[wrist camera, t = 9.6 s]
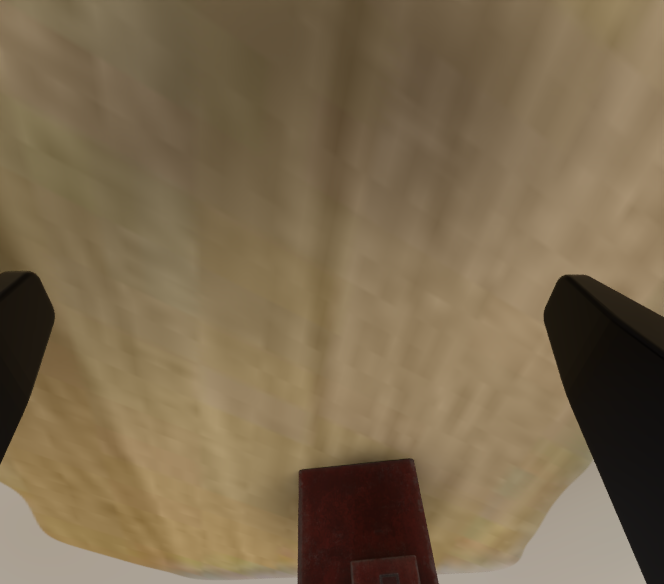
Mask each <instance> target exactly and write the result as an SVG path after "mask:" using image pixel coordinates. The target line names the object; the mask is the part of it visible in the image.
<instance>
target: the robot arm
mask: <svg viewBox="0 0 664 584" xmlns="http://www.w3.org/2000/svg"><path fill="white" fill-rule="evenodd" d="M54 319H55V313H54V308H53V306H52V304H51V302H50V299H49V297H48V295H47V293H46V291H45V289H44V287H43V284H42V282H41V280H40V278H39V277H38V276H37V275H36V274H35V273H33V272H30V271H7V272H4V273H1V274H0V464H1V462H2V459H3V457H4V455H5V453H6V450H7V448H8V446H9V444H10V442H11V439H12V437H13V435H14V433H15V431H16V428H17V426H18V424H19V422H20V420H21V417H22V415H23V413H24V410H25V408H26V406H27V403H28V401H29V398H30V396H31V393H32V390H33V387H34V384H35V381H36V378H37V375H38V371H39V368H40V365H41V362H42V359H43V356H44V353H45V349H46V346H47V343H48V340H49V337H50V334H51V331H52V327H53V324H54ZM544 323H545V327H546V330H547V333H548V337H549V340H550V344H551V347H552V350H553V354H554V357H555V360H556V364H557V367H558V370H559V374H560V377H561V380H562V383H563V386H564V389H565V392H566V395H567V398H568V400H569V403H570V405H571V408H572V410H573V412H574V415H575V417H576V419H577V422H578V424H579V426H580V429H581V431H582V433H583V436H584V438H585V440H586V443H587V445H588V448H589V450H590V452H591V455H592V457H593V459H594V462H595V464H596V466H597V468H598V471H599V473H600V476H601V478H602V480H603V482H604V485H605V487H606V489H607V492H608V494H609V497H610V499H611V501H612V503H613V506H614V508H615V511H616V513H617V515H618V517H619V520H620V522H621V525H622V527H623V529H624V532H625V534H626V536H627V539H628V541H629V543H630V546H631V548H632V550H633V553H634V555H635V558H636V560H637V562H638V564H639V566H640V569H641V572H642V574H643V576H644V578H645V581H646V583H647V584H664V317H663V316H661V315H659V314H657V313H655V312H653V311H652V310H650V309H648V308H646V307H644V306H642V305H641V304H639V303H637V302H635V301H633V300H632V299H630V298H628V297H626V296H624V295H622V294H621V293H619V292H617V291H615V290H613V289H611V288H610V287H608V286H606V285H604V284H602V283H601V282H599V281H597V280H595V279H593V278H591V277H589V276H587V275H564V276H562V277H560V278H559V279H558V281H557V283H556V285H555V287H554V289H553V292H552V294H551V296H550V298H549V300H548V303H547V305H546V307H545V310H544Z"/></svg>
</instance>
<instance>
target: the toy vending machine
mask: <svg viewBox="0 0 664 584" xmlns="http://www.w3.org/2000/svg"><path fill="white" fill-rule="evenodd" d="M298 584H439V583H438V578H437V573H436V568H435V563H434V558H433V553H432V548H431V544H430V539H429V534H428V529H427V524H426V519H425V514H424V509H423V504H422V499H421V494H420V489H419V484H418V479H417V474H416V469H415V464H414V460H413V459H403V460H393V461H383V462H374V463H364V464H354V465H344V466H335V467H325V468H315V469H305V470H300V471H299V508H298Z"/></svg>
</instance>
